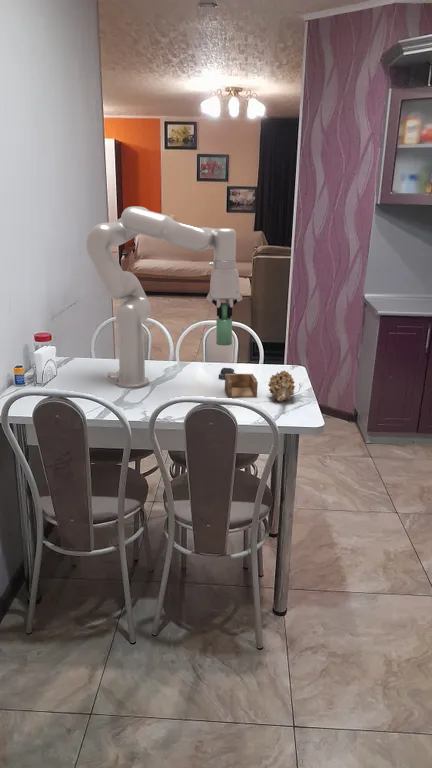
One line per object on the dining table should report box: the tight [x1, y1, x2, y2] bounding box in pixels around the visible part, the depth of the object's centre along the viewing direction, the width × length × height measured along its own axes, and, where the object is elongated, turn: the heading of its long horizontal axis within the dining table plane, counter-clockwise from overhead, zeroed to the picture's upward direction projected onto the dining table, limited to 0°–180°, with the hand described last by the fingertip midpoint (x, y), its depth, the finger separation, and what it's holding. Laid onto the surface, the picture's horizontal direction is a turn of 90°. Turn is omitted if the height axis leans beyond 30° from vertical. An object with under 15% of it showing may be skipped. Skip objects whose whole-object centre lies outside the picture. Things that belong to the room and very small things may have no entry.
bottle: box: [215, 301, 233, 346], centre depth 196 cm, size 6×6×15 cm
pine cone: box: [267, 370, 296, 402], centre depth 193 cm, size 22×10×10 cm, turn 178°
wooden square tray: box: [224, 373, 258, 399], centre depth 202 cm, size 10×10×6 cm
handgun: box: [218, 367, 257, 381], centre depth 222 cm, size 2×16×12 cm
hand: (224, 317), depth 196 cm, fingers closed on bottle, 2 cm apart
